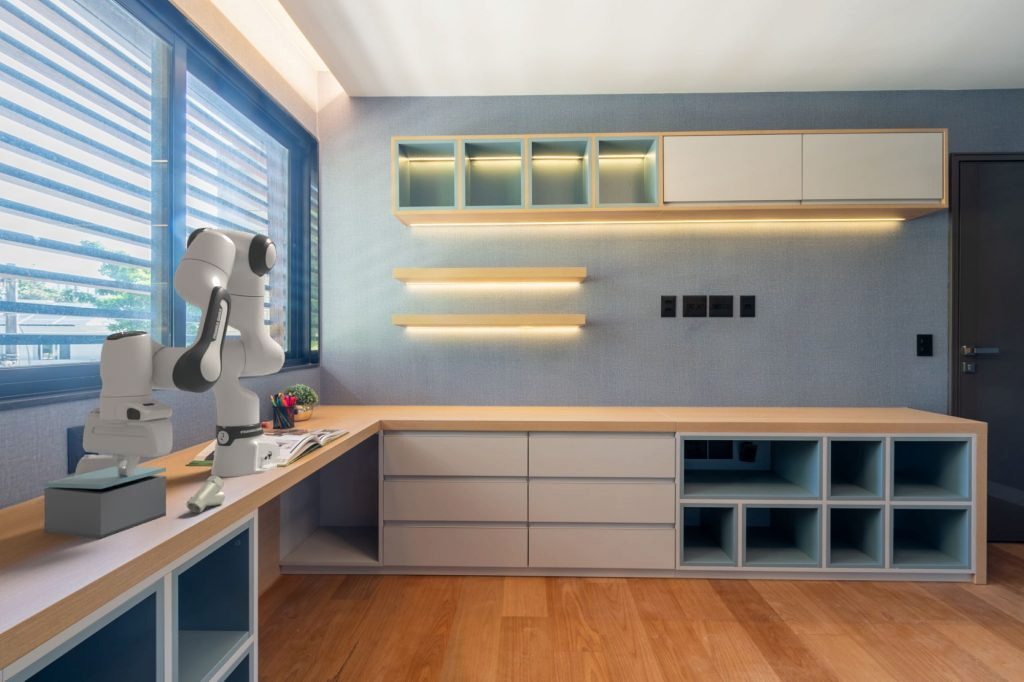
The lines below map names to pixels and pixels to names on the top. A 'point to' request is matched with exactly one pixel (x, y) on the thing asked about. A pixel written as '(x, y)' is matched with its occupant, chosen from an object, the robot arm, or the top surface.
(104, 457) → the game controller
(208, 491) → the pipe fitting
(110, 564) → the top surface
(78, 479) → the lid
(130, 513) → the box
